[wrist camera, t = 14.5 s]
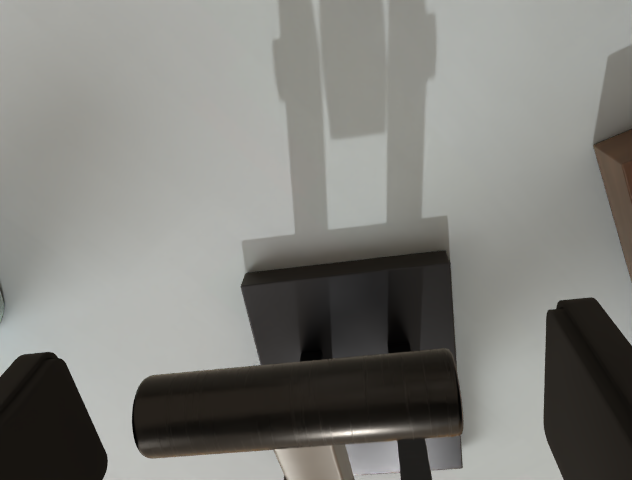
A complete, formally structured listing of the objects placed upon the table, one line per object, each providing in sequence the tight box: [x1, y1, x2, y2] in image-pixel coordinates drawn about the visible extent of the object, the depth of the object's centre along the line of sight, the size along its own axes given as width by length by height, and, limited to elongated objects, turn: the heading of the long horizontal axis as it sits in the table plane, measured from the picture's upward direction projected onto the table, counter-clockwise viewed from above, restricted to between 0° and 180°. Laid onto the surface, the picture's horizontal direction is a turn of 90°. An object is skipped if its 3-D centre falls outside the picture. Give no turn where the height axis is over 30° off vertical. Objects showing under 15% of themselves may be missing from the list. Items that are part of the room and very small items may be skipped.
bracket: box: [241, 251, 463, 480], centre depth 21 cm, size 12×9×13 cm
